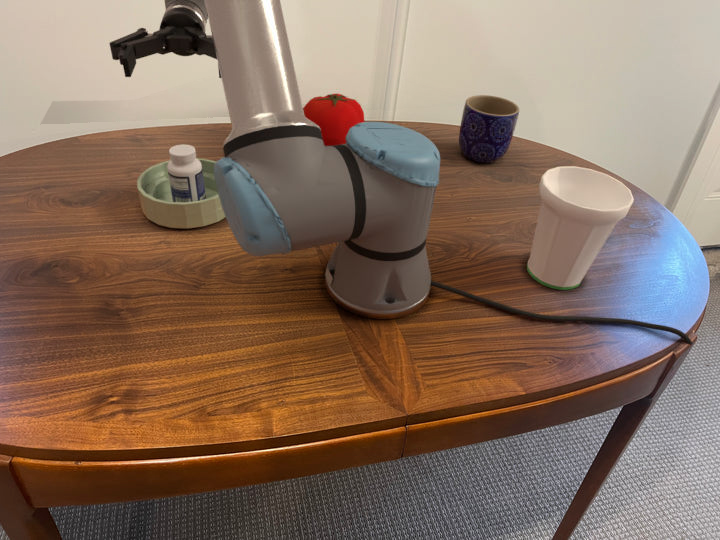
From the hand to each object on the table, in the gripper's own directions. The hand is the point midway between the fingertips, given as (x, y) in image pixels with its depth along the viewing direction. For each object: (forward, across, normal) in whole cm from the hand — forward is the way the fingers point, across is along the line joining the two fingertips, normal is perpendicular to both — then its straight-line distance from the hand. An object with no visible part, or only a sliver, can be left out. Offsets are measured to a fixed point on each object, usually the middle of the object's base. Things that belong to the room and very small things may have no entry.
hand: (174, 68), depth 80 cm
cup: (+27, -56, -22) cm, 66 cm away
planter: (-12, -59, -22) cm, 64 cm away
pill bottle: (+4, 0, -21) cm, 22 cm away
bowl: (+4, 0, -22) cm, 22 cm away
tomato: (-16, -27, -22) cm, 38 cm away
